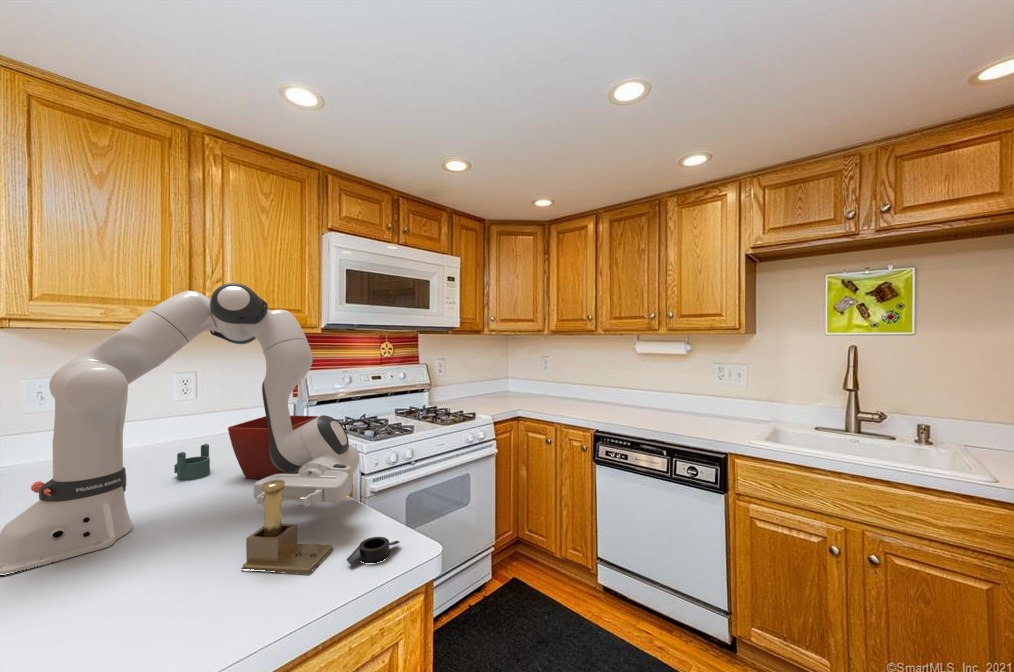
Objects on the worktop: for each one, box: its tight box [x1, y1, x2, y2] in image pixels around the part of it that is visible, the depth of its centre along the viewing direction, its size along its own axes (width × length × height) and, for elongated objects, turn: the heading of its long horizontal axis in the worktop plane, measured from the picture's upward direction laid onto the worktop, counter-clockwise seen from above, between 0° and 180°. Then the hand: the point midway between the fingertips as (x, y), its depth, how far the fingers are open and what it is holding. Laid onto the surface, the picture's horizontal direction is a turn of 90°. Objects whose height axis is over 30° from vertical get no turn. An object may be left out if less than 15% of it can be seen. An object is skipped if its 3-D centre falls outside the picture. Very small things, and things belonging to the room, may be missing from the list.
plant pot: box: [227, 415, 320, 480], centre depth 136 cm, size 19×19×17 cm
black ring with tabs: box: [345, 536, 400, 566], centre depth 85 cm, size 8×10×3 cm
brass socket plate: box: [240, 523, 334, 575], centre depth 84 cm, size 9×14×6 cm, turn 85°
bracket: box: [174, 443, 211, 482], centre depth 133 cm, size 9×9×9 cm
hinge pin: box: [262, 480, 285, 537], centre depth 84 cm, size 4×4×14 cm
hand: (281, 501), depth 87 cm, fingers open, 8 cm apart
